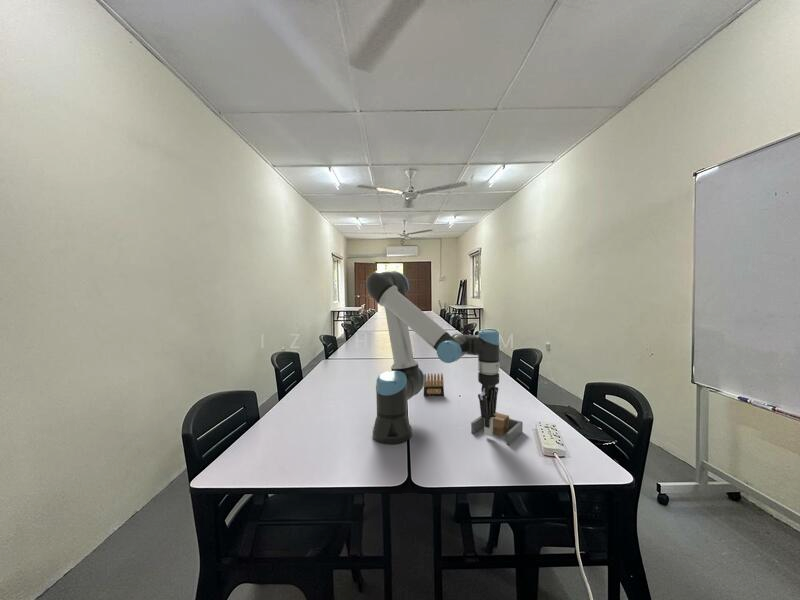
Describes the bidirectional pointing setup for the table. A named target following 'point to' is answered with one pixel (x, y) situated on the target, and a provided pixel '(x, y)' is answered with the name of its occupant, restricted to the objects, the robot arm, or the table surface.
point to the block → (500, 424)
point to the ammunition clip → (432, 390)
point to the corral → (514, 432)
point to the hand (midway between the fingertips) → (488, 434)
